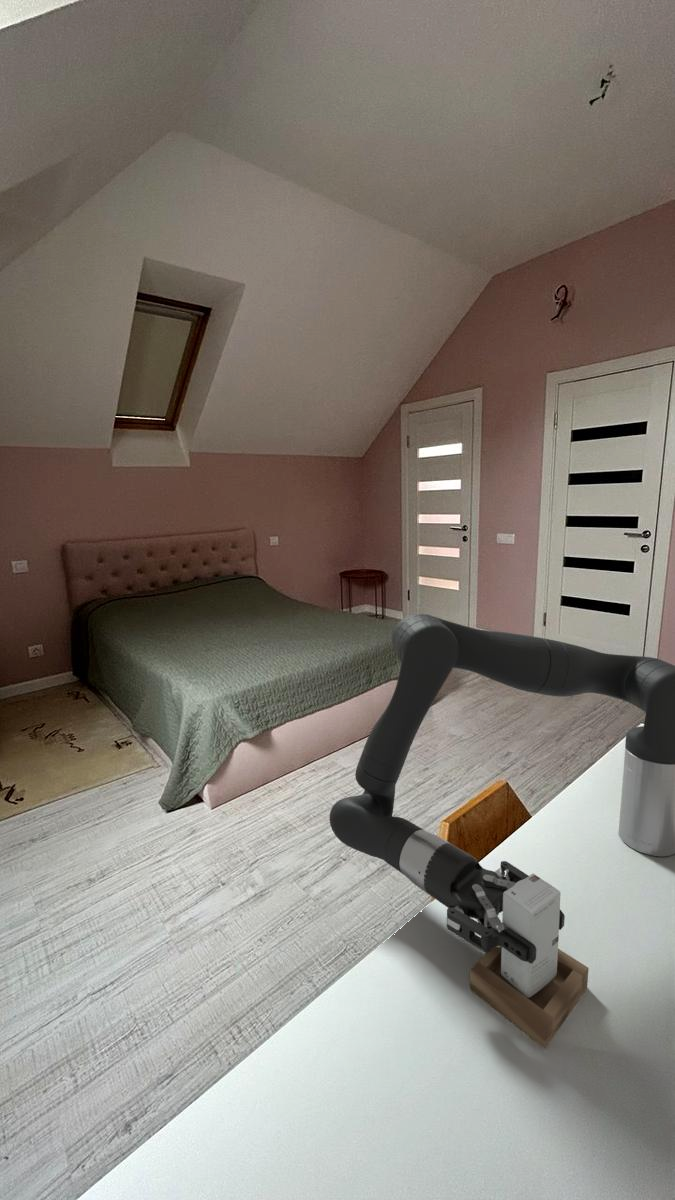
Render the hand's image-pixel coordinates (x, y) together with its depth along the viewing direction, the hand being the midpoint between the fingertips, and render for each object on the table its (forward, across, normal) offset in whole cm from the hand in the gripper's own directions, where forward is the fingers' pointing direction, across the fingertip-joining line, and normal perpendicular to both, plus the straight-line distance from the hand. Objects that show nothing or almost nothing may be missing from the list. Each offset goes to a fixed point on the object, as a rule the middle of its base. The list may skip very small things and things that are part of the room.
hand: (549, 938), depth 62 cm
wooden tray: (-2, 0, +9) cm, 9 cm away
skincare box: (-2, 0, +7) cm, 8 cm away
